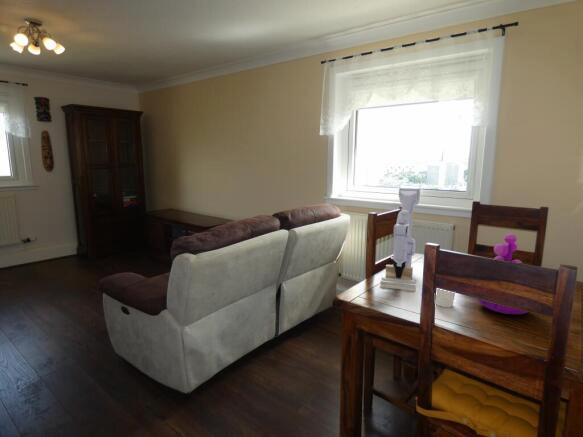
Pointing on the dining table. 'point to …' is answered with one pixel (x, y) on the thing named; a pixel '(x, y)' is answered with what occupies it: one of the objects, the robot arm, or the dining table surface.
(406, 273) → the tan rectangular block
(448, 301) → the white cup
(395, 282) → the track board
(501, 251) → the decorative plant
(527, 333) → the dining table surface
